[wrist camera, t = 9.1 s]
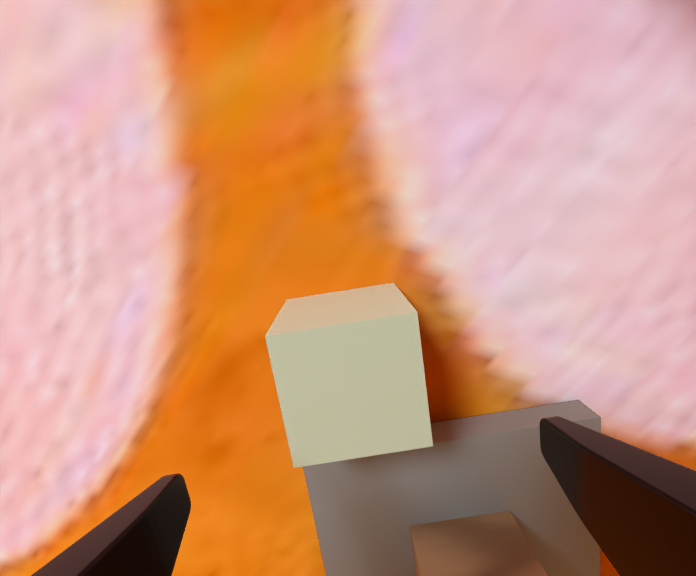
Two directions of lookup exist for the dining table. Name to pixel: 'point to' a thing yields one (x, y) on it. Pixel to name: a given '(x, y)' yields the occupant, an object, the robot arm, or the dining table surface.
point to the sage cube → (350, 375)
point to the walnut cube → (474, 547)
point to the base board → (451, 494)
